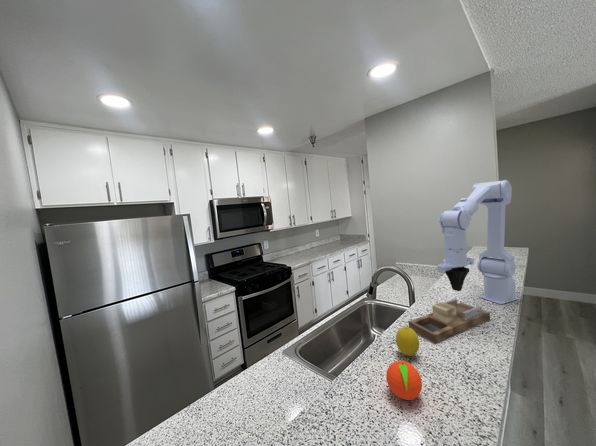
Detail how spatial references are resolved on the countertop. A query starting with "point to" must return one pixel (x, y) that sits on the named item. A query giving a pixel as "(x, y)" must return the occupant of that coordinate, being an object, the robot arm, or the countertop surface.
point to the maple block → (444, 312)
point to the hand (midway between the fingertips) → (456, 289)
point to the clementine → (404, 380)
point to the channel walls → (467, 314)
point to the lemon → (407, 341)
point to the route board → (446, 324)
